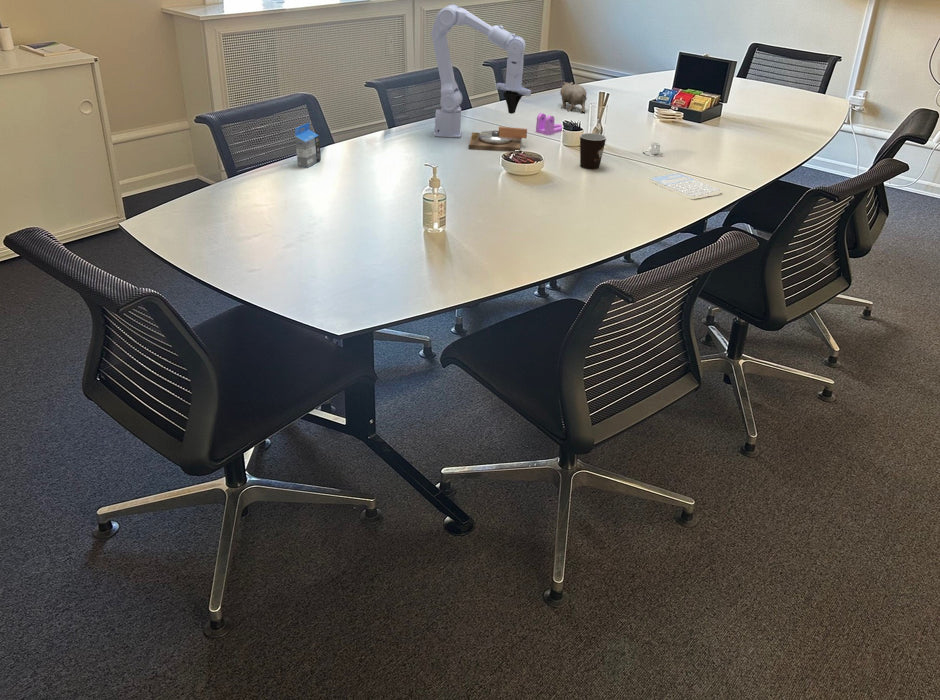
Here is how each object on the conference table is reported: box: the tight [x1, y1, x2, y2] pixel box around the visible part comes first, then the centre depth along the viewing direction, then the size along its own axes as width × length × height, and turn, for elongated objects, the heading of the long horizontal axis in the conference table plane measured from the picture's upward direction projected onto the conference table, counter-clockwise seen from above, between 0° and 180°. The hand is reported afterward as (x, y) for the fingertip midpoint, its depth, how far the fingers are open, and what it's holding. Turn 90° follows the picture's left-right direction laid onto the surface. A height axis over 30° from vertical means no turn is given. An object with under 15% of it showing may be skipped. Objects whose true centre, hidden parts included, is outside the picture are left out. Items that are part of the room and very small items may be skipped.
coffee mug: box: [579, 132, 607, 170], centre depth 272 cm, size 12×9×10 cm
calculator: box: [649, 172, 721, 197], centre depth 258 cm, size 13×20×2 cm, turn 31°
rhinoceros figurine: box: [559, 81, 588, 113], centre depth 340 cm, size 9×15×17 cm
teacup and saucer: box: [646, 142, 661, 155], centre depth 289 cm, size 9×8×4 cm
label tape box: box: [294, 121, 322, 169], centre depth 261 cm, size 9×4×12 cm, turn 160°
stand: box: [468, 132, 522, 152], centre depth 291 cm, size 18×16×3 cm
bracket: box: [535, 112, 563, 136], centre depth 309 cm, size 13×6×7 cm, turn 135°
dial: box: [479, 126, 528, 144], centre depth 290 cm, size 17×12×4 cm
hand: (511, 113), depth 292 cm, fingers closed
